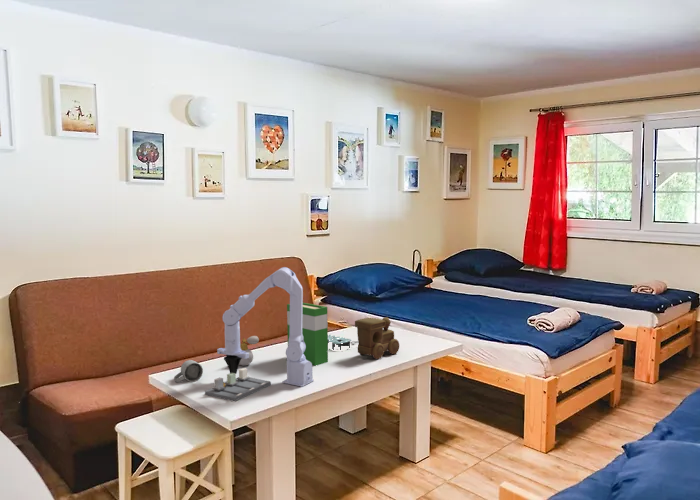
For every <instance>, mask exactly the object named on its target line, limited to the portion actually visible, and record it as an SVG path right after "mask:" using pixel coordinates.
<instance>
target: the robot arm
mask: <svg viewBox="0 0 700 500" xmlns="http://www.w3.org/2000/svg"><path fill="white" fill-rule="evenodd" d="M276 287H278V288H281V289H283V290H284V291H286V292H287V293H288V294H289V304H290V335H289V341H288V340H287V348H286V349H285V356H286V379H284V380H282V384H286V385H292V386H298V387H304V386H306V385H309V384H310V383H312V382H314V379H313V365H312V363H311V362H310V361H307V360H306V357H305V355H304V354H303V353H304V351H305V349H306V345H305V343H304V340H303V334H302V316H303V303H304V302H303V301H304V299H303V298H304V292H303V291H304V288H303V285H302V284H301V282H300V281H299V279H298V277H297V275H296V273H295V272H294V271H293V270H291V268H288V267H286V266H283V267H280V268H279V269H277V270H276V271H274V272H273V273H272V274H270V275H269V276H267V277H266V278H264V279H263V280H262V281H261V282H260V283H259V284H258V285H257V287H255V288H253V290H252V291H251V292H250V293H249V294H243V295H240V296H238V300H236V302H235V303H234V304H231V305H230V306H229V309H227V310H225V311H224V312H223V314H222V322H223V323H224V347H220V348H217V350H216V351H217V353H216V355H225V356H224V357H223V361H225V363H226V365H227V368H228V371H229V374H230V373H235V374H237V373H238V370H239V363H240V361H241V359H242V358H244V359H247V358H249V353H247V352H244V351H242V350H241V349H240V348H241V330H240V329H241V328H240V326H241V325H240V321H241V319H242V318H243V317H244V316H246V314H247V313H248V312H249V311H251V309H252V308H254V307H255V303H256V302H255V301H256V300H257V299H258V298H260V296H261V295H263V294H264V293H265V292H266V291H267V290H268V289H270V288H276Z"/></svg>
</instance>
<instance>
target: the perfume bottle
mask: <svg viewBox="0 0 700 500" xmlns="http://www.w3.org/2000/svg"><path fill="white" fill-rule="evenodd" d="M259 341H260V340H259V337H258V336H257V335H251V336H249V337H247V338H245V337H243V338H242V343H240V349H241V350H242V351H244V352H247V353H249V358H247V359H244V358H242V359H241V361H240V363H239V365H240V366H243V367H245V366H248V365H250V364H252V362H253V359H254V353H253V351H252V350H251V349H250V348H249V347H248V344H249V345H256V344H258V343H259ZM239 365H238V366H239Z"/></svg>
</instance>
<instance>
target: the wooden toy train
mask: <svg viewBox="0 0 700 500" xmlns="http://www.w3.org/2000/svg"><path fill="white" fill-rule="evenodd" d="M391 323H392V322H391V320H390V319H389V317H382V319H380V318H376V317H365V318H360V319H357V320H355V321H354V327H355V328H357V331H356V333H357V341H358V342H357V343H358V344H357V345H358V347H357V353H358V355H360V356H366V355H367V356H372V357H373V358H374V359H375V360H380V359H382V357H383V356H384V354H385V352H387V351H388V353H389V354H390V355H395V354H397V353H398V352H399V350H400V342H399V340H398V339H396V338H395V331H394V330H392V329H389V328H390V325H391ZM379 358H380V359H379Z"/></svg>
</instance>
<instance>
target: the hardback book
mask: <svg viewBox="0 0 700 500" xmlns="http://www.w3.org/2000/svg"><path fill="white" fill-rule="evenodd" d="M286 316H287V317H286V319H287V322H286V323H287V324H286V325H287V342H288V341H289V335H290V303H287V304H286ZM328 326H329V325H328V307H327V306H325V305H324V306H323V305H318V304H313V303H306V302H303V316H302V334H303V340H304V343H305V345H306V349H305V351H304V353H303V354H304V355H305V357H306V360H307V361H310V362H311V363H312V366H314V367H317V366H319V365H323V364H326V363H328V362H329V350H328V336H329V335H328V333H329V332H328V329H329V328H328ZM316 365H317V366H316Z"/></svg>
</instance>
